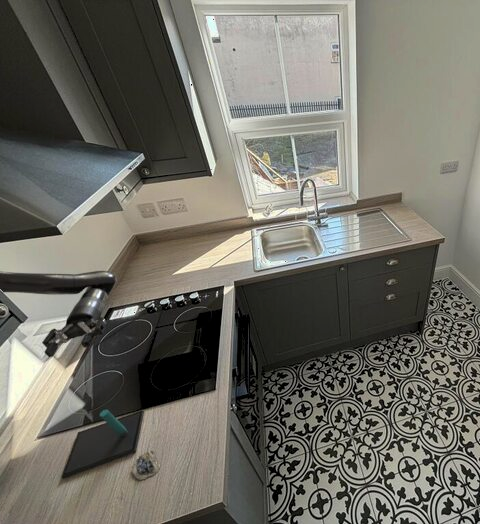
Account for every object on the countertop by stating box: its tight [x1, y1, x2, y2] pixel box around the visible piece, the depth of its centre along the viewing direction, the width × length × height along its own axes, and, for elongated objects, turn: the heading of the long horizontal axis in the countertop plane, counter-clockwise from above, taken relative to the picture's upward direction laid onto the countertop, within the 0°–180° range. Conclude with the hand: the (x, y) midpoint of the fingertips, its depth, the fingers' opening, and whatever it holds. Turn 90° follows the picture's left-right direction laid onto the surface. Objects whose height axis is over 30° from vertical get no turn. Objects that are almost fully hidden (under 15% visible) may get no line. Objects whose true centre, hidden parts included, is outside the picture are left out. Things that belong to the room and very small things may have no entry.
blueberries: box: [130, 450, 161, 481], centre depth 82 cm, size 7×8×2 cm
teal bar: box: [99, 409, 128, 436], centre depth 86 cm, size 2×2×12 cm
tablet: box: [60, 410, 145, 480], centre depth 88 cm, size 18×13×1 cm
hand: (66, 350), depth 83 cm, fingers open, 8 cm apart
